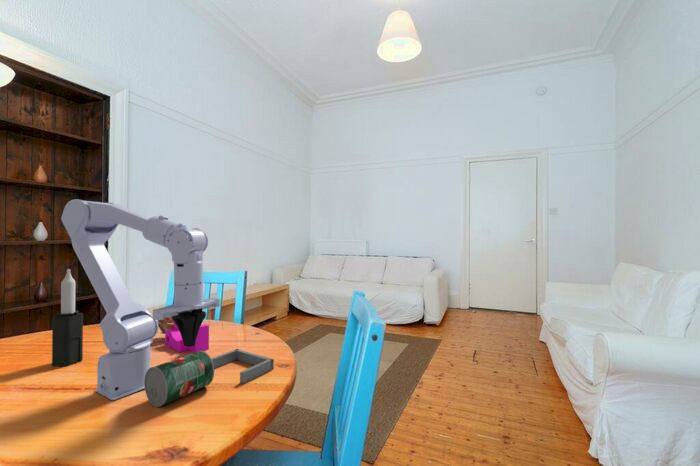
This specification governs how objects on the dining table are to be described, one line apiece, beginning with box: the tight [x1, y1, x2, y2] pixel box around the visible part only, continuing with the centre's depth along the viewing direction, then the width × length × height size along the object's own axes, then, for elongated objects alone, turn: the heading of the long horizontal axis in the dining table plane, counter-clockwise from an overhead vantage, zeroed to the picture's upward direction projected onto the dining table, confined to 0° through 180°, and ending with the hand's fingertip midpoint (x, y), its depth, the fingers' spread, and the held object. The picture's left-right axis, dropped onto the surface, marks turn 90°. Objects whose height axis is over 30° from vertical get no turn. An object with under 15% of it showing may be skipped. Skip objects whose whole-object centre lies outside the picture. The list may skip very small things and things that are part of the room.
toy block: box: [164, 322, 210, 353], centre depth 101 cm, size 15×6×8 cm, turn 51°
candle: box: [51, 268, 84, 368], centre depth 88 cm, size 5×5×25 cm
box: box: [211, 348, 275, 384], centre depth 85 cm, size 10×14×2 cm
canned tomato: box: [144, 351, 215, 408], centre depth 71 cm, size 8×8×11 cm
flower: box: [157, 316, 174, 335], centre depth 110 cm, size 10×9×8 cm
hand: (189, 345), depth 72 cm, fingers closed
